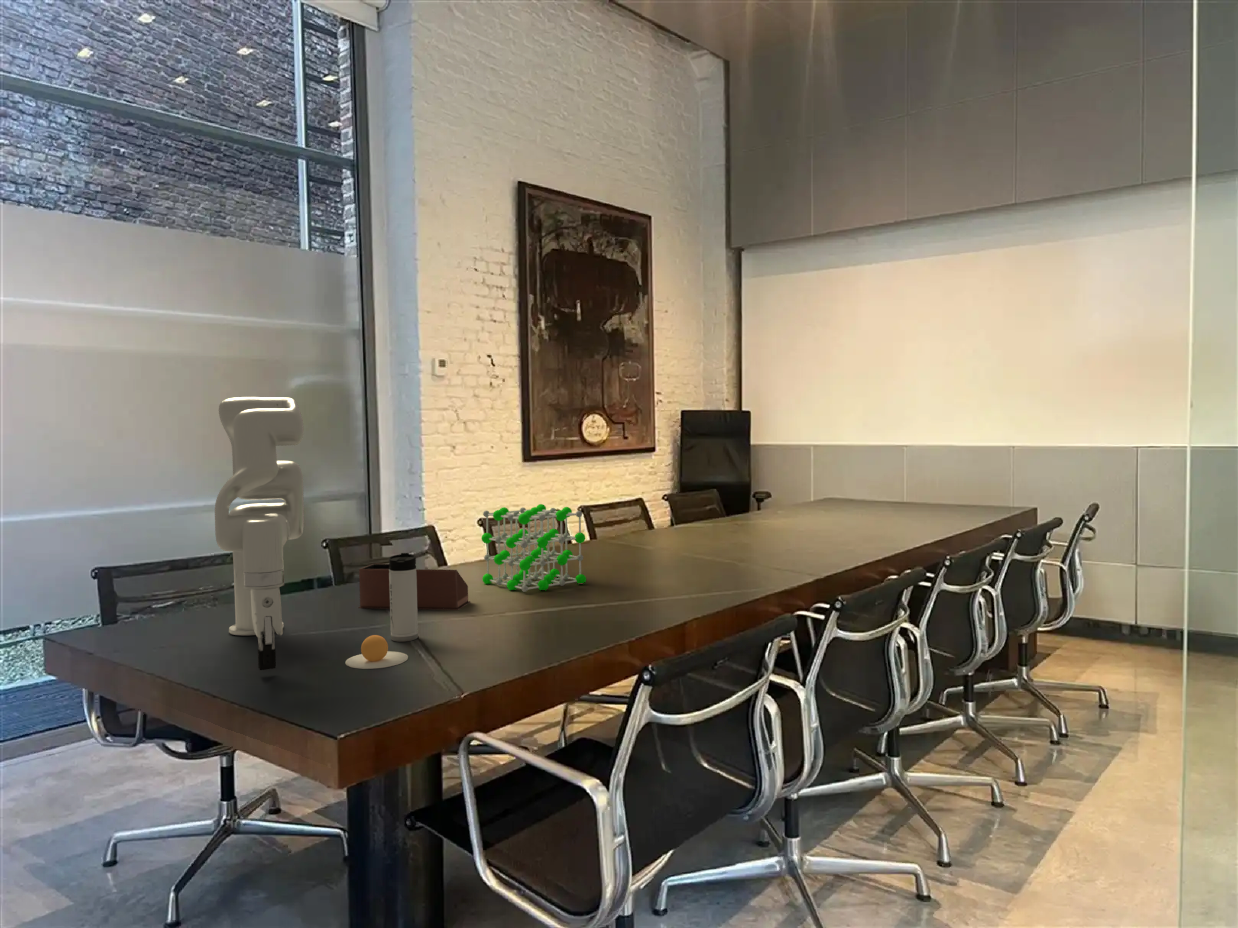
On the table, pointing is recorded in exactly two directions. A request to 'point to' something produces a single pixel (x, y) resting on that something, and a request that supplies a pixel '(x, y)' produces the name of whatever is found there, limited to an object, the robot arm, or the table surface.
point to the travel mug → (403, 597)
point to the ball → (374, 648)
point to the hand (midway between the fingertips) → (267, 668)
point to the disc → (387, 661)
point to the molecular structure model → (541, 551)
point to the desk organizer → (431, 588)
